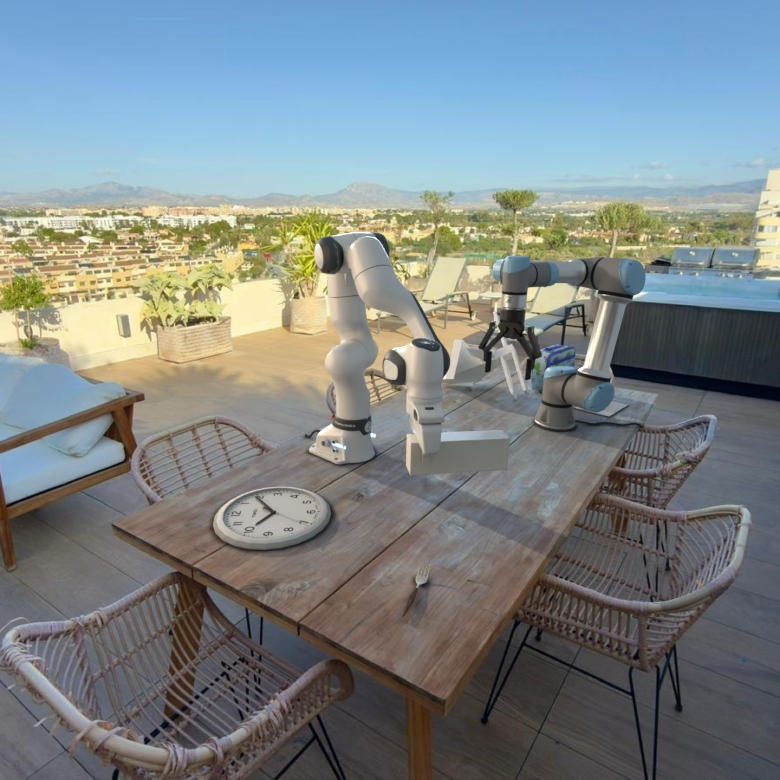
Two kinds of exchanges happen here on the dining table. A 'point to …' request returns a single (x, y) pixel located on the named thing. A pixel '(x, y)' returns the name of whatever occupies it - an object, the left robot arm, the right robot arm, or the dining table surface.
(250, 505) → the wall clock
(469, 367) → the white plastic object
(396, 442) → the dining table surface
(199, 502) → the dining table surface
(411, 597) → the fork
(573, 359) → the lunch box
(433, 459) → the bar
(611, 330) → the right robot arm
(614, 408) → the invitation card
